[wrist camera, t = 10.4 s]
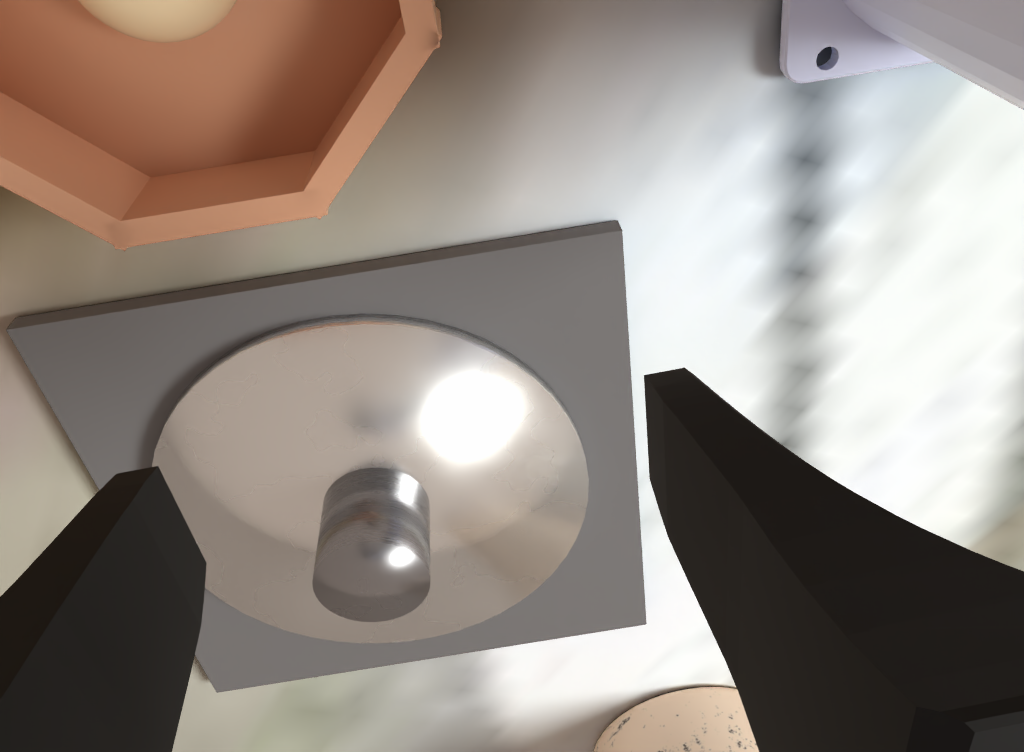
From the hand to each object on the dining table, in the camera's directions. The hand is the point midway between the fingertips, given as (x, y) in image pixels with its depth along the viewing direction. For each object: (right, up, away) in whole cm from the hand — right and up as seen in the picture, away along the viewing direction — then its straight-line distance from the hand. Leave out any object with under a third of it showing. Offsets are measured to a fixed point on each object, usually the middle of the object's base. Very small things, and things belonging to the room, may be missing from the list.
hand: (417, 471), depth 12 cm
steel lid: (-3, -2, +13) cm, 14 cm away
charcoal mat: (-3, -2, +14) cm, 14 cm away
